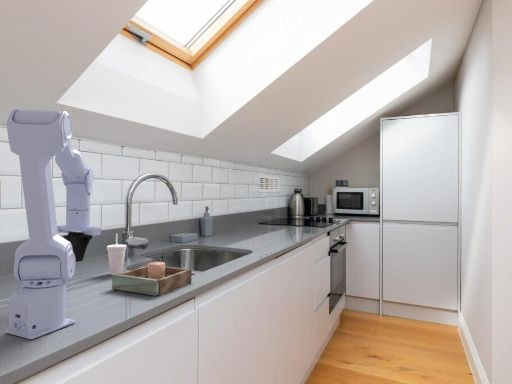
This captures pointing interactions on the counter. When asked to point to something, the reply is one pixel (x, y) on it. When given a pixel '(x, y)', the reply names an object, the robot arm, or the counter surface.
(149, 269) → the peach rounded cylinder
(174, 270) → the dock
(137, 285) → the tray
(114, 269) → the smoothie
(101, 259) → the counter surface
